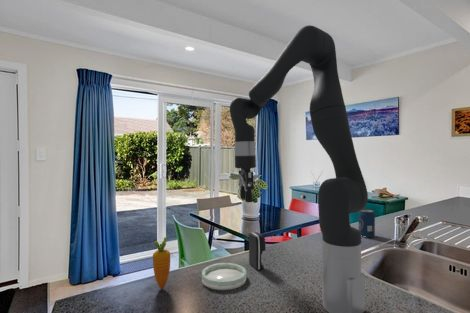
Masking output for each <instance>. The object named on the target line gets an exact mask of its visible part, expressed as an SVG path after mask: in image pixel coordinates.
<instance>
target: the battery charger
mask: <svg viewBox="0 0 470 313" xmlns="http://www.w3.org/2000/svg"><path fill="white" fill-rule="evenodd" d="M266 247H267V246H266V237H265V236H264V235H263V234H261V233H259V232H250V233H248V262H249V264H250V266H252V268H254V269H255V270H262V269H264V267H265V266H264V265H263V263H262V254H263V253H264V252H265V251H266V250H267V248H266Z"/></svg>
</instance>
